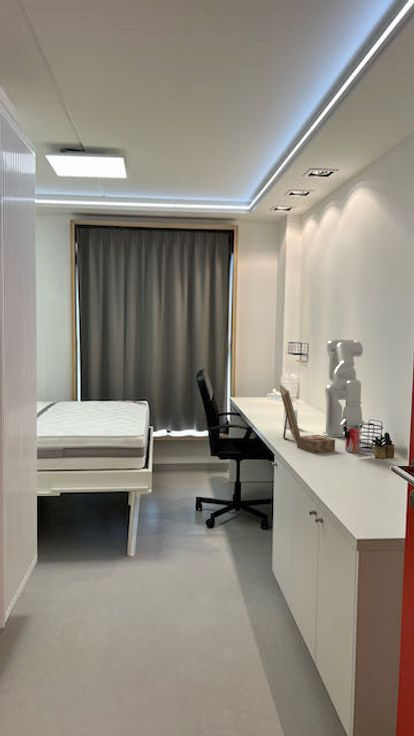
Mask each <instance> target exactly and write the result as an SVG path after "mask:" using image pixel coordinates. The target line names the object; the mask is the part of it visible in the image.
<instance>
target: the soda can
mask: <svg viewBox="0 0 414 736" xmlns="http://www.w3.org/2000/svg"><path fill="white" fill-rule="evenodd" d="M349 432H350V438H349V439H345V441H344V442H345V443H344V444H345V446H344V449H345V451H346V452H347V453H350V454H351V453H352V454H355V453H359V451H360V439H361V436H360V435H361V434H360V432H361V430H359V427H357V426H356V427H355V426H350V429H349Z"/></svg>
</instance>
